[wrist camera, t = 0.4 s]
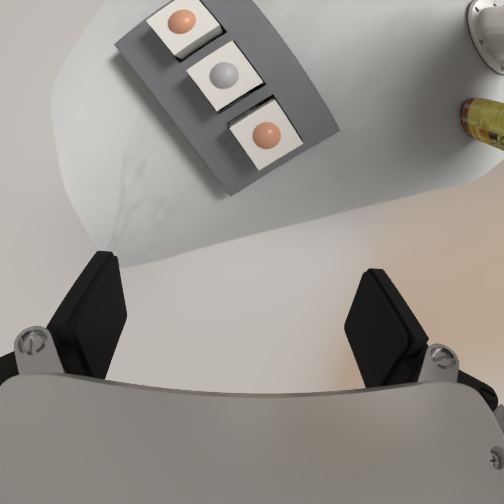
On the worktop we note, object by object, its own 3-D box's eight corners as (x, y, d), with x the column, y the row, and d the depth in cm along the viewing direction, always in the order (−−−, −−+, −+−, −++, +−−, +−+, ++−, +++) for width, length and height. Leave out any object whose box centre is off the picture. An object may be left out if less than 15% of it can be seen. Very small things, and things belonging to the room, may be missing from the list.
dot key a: (271, 99, 28) (275, 99, 24) (296, 137, 30) (303, 143, 27) (231, 124, 29) (229, 128, 26) (257, 161, 31) (258, 170, 28)
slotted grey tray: (226, -22, 22) (224, -31, 19) (332, 127, 31) (340, 130, 29) (124, 47, 25) (114, 44, 23) (231, 188, 35) (230, 196, 32)
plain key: (233, 46, 25) (232, 40, 21) (260, 83, 27) (263, 82, 23) (193, 73, 26) (185, 70, 23) (220, 109, 28) (216, 111, 25)
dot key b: (196, 1, 22) (190, -10, 18) (222, 33, 24) (219, 24, 20) (157, 28, 23) (145, 20, 20) (182, 59, 25) (173, 55, 22)
